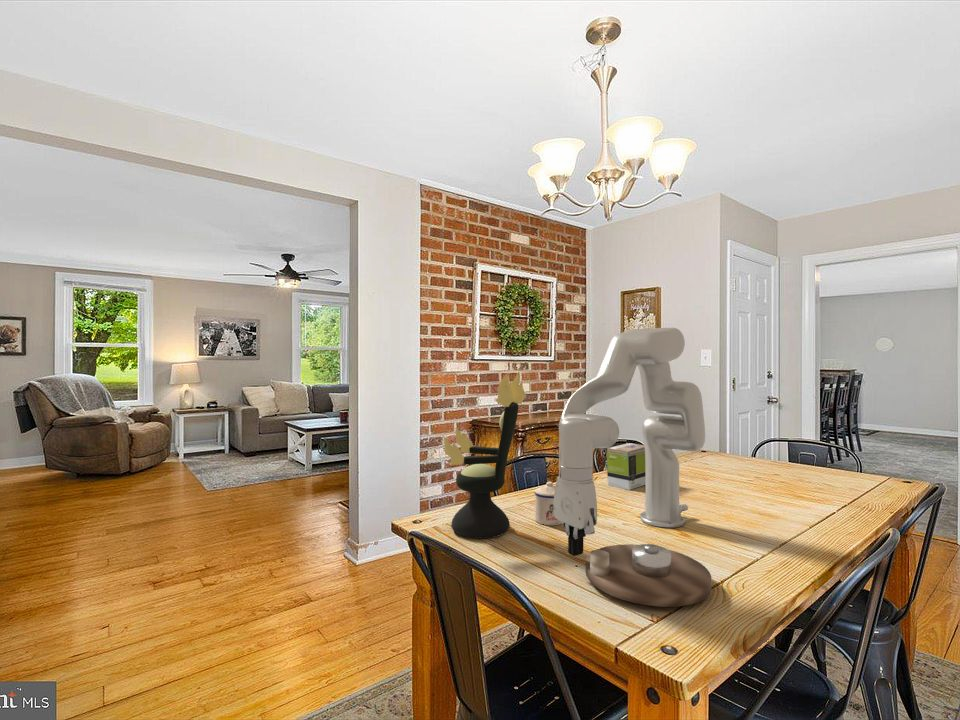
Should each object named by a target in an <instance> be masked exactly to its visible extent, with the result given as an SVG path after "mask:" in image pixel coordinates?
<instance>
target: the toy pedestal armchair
mask: <svg viewBox="0 0 960 720" xmlns="http://www.w3.org/2000/svg"><path fill="white" fill-rule="evenodd" d="M496 390H497V393H498V397H497V398H494V401H495V402H496V403H497V404H499V405H501V406H503V407H505V408H504V411H502V413H501V415H500V417H499V422H498V423H499V428H500V431H501V433H500V439H499V445H498V447H491V446H490V447H489V446H488V447H487V446H478V445H477V446H476V445H475V446H474V444H473V442H472V441H471V439H470V438H469V436H468V435H466V433H464V432H462V431H460V429H458V428H457V427H455V442H454V441H452V443H451V442H450V440H449V438H447V437H445V436H444V437H443V441H444V454H445V455H447V456H448V457H450V462H449V464H448V465H449V466H453V465H454V466H456V465H463V464H464V465H468V466H466V467H464V468H463V470H461V472H459V473H458V474H457V476H456V478H455V483H456V486H457V487H458V489H460V490H461V491H464V492H467V493H469V495H470V496H469V499H468V501H467V503H465V504H463V506H462V507H461V508H460V509H459V510H458V511H457V512H456V513H455V514H454V515H453V518H452V519H451V523H450V526H451V529H452V530H453V531H454V533H456V534H458V535H459V536H462V537H464V538H471V539H491V538H496V537H499V536H502V535H504V534H505V533H506V532H508V530H509V529H510V519H509V517H508V515H507V514H506V512H504V511H503V510H502V509H501V507H499V506H498V505H497V504H496V503H495V502H494V501H493V500H492V497H491V493H494V492H497V491H499V490H500V489H502V488H503V486H504V485H505V481H506V480H505V476H506V469H507V463H508V458H509V455H510V454H509V453H510V449H511V445H512V440H513V436H514V432H515V430H516V429H515V428H516V424H517V420H518V415H519V414H518V413H519V405H521V404H522V403H523V402H524V400H525V398H526V397H527V394H526V392H525V390H524V385H523V381H521V382H520V374H519V373H518V372H517V374H516V375H515V376H514V378H513V380H512V382H511V383H510V377H509V375H508V374H507V375H503V377H502V380H501V381H500V383H499V384H498V386H497V388H496ZM455 443H456V444H455ZM457 445H458V446H457ZM459 446H460V449H459ZM462 453H463V454H462ZM464 454H476V455H469V456H466V455H465V456H464ZM489 464H495V466H492V465H489Z"/></svg>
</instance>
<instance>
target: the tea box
mask: <svg viewBox="0 0 960 720" xmlns="http://www.w3.org/2000/svg"><path fill="white" fill-rule="evenodd" d="M606 465H607V466H606V467H607V468H606V471H607V473H606V474H607V485H608V486H610V487H614V488H618V489H622V490H628V491H631V490H633V489H636V488H640V487H642V486H645V446H644V444H638V443H630V442H628V443H623V444H620V445H619V444H618V445H616V446H614V445H613V446H610V447H608V448H606Z"/></svg>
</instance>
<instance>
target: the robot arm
mask: <svg viewBox="0 0 960 720" xmlns="http://www.w3.org/2000/svg"><path fill="white" fill-rule="evenodd" d="M685 341H686V340H685V337H684V334H683V333H682V331H681V330H680V329H678V328H677V327H653V328H648V327H646V328H644V327H643V328H630V329H628V330H624V331H623V332H619V333H617V334H614V336H613V337H612V338H611V339H610V342H609V343H608V346H607V348H606V350H605V353H604V356H603V357H602V361H601V363H600V366H599V367H598V370H597V373H596V375H595V376H594V377H593V378H591V379H590V380H589V381H587V382H586V383H584V384H583V385H582V386H581V387H578V389H577V390H576V391H574V393H573V394H571V396H570V397H569V398H568V400H567V402H566V404H565V406H564V409H563V411H562V414H561V416H560V420H559V422H558V423H559V424H558V433H559V434H558V436H559V437H558V443H559V445H558V458H559V459H558V461H559V462H558V470H559V471H558V476H556V481H555V485H554V486H555V493H554V517H555V518H556V519H557V520H559V522H561V523H562V525H563V527H564V529H565V533H566V536H567V553H568V555H570V556H573V557H577V556H580V555H583V554H584V538H585V537H586V536H587V535H589V536H590V535H594V534H595V532H596V531H595V526H596V525H597V523H598V521H597V520H598V501H597V493H596V492H597V490H596V485H595V482H594V480H593V479H594V449H607V448H610V447H613V446H614V445H615V444H616V442H617V441H618V439H619V436H620V427H619V425H618V422H617V421H616V420H614V419H613V418H611V417H610V416H606V415H599V414H598V415H597V414H596V415H595V414H589V413H588V414H587V413H586V412H587V411H588V410H590V408H592V407H594V406H595V405H598V404H600V403H602V402H605V401H608V400H610V399H613V398H616V397H619V396H621V395H623V394H625V393H626V392H627V391H628V390H629V387H630V385H631V383H632V379H633V377H634V374H635V372H636V368H637V367H638V370H639V376H640V383H641V392H642V399H643V404H644V407H645V409H646V410H647V411H649V412H651V413H655V415H650V416H648V417H646V418H645V419H644V420H643V422H642V424H641V425H642V426H641V434H642V440H643V445H644V446H645V485H644V486H645V487H644V489H645V503H644V504H645V506H644V507H645V511H642V512H641V513H640V515H639V519H640V521H642V522H643V523H645V524H648V525H650V526H654V527H659V528H679V527H682V526H684V525H685V523H686V519H685V517H684V516H682V514H681V513H682V512H686V511H688V510H689V506H688V504H687V503H683V504H680V461H679V458H678V457H677V455H676V454H675V452H674V451H673V450H680V451H688V452H698V451H700V450H702V449H703V447H704V445H705V442H706V427H705V417H704V416H705V415H704V408H703V407H704V405H703V397H702V392H701V390H700V388H699V387H698V386H697V385H696V384H695V383H693V382H689V381H676V380H673V377H672V372H671V365H670V362H672V361H674V360H677V359H678V358H679V357H681V355H682V354H683V352H684V349H685V346H686V344H685ZM661 414H662V415H661ZM663 414H665V415H663ZM666 414H667V415H666ZM674 415H675V416H674ZM676 415H679V416H676Z"/></svg>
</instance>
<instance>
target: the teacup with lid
mask: <svg viewBox="0 0 960 720" xmlns="http://www.w3.org/2000/svg"><path fill="white" fill-rule="evenodd" d="M554 493H555V485H554V483H553V481H547V482H546V484H544V485H543V486H541V487H537V488H536V489H535V490H534V494H535V499H534V502H535V505H534V507H535V511H534V512H535V518H534V519H535V521H536V523H538V524H540V525H543V524H544V526H559V525H561V524H562V523H561V522H559V520H557V519H556V518H555V517H554ZM562 525H563V524H562Z"/></svg>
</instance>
